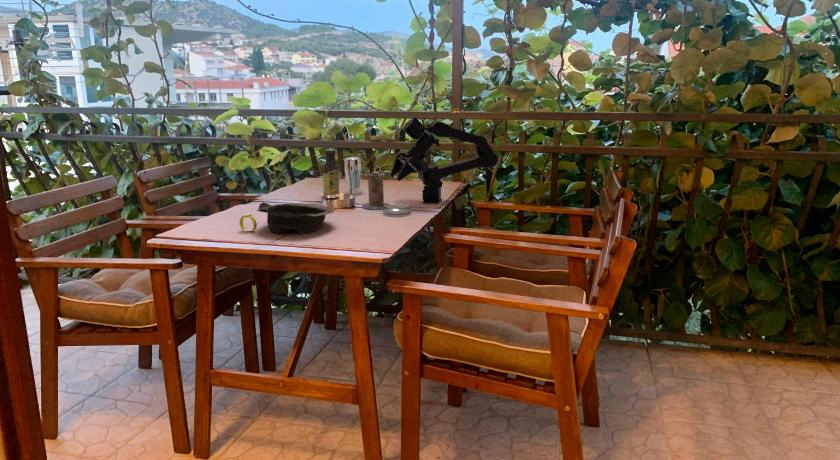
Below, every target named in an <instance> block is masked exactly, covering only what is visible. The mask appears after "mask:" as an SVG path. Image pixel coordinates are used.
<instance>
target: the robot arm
mask: <svg viewBox="0 0 840 460" xmlns="http://www.w3.org/2000/svg"><path fill="white" fill-rule="evenodd" d="M401 130H402V131H403V132H404V133H406V135H408V137H410V138H411V140H416V142H414V144H413V143H412V144H410V148H409V150H407V151H405V152H403V151H397V152H396V153H395V155H394V161H393V163H392V164H393V165H392V168H391V172H390V177H391V178H393V177H395V175H397V174H398V176H397V178H396V180H397V181H398V182H400V181H402V180H403V179H404V178H406V177H407V176H409V175H410V174H417V173H418V179H419V180H420V181H422V184H423V189H422V203H426V204H439V203H440V202H442V201H443V198H442V187H443V185H444V182H443V181H442V179H444V178H445V177H448V176H452V175H455V174H459V173H462V172H466V171H467V172H468V171H469V170H473V169H476V168H477V169H479V168H481V169H486V168H494V167H496V165H497V164H498V163H499V157H498V155H497V154H496V153H495V152H494V150H493V148H492V147H491V146H490V143H488V141H487V139H486V137H485V136H483V135H480V134H476V133H475V134H474V133H470V132H467V131H465V130H461V129H457V128H454V127H452V126H451V125H449V124H447V123H446V122H443V121H440V120H439V121H438V120H432V121H431V122H429V124H424V125H423V123H422V122H420V121H419V119H418V117H416V116H413V117H412V118H411V119H409V120H408V121H406V122H405V123H404V125H403V126H402V128H401ZM428 133H429V134H428ZM435 137H438V138H435ZM439 138H453V139H456V140H459V141H463V142H467V143H471V144H473V145H474V146H475V149H476V153H477V154H475V155H474V156H473V157H471V158H470V157H469V158H467V159H463V160H460V161H456V162H451V163H448V164H445V165H441V166H439V165H437V163H430V164H429V165H428V163H427V161H426V160H425V159H426V157H427V153H428V152H429V150H430V149H431V148H432V147H433V146H436V147H440V139H439Z"/></svg>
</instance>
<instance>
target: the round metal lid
mask: <svg viewBox="0 0 840 460" xmlns="http://www.w3.org/2000/svg"><path fill="white" fill-rule="evenodd" d="M382 214H383V215H384V216H386V217H391V218H400V217H401V218H403V217H407V216H410V215H411V206H409V205H406V204H390V206H385V207H384V208H383V210H382Z"/></svg>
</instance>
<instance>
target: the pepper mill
mask: <svg viewBox="0 0 840 460" xmlns="http://www.w3.org/2000/svg"><path fill="white" fill-rule="evenodd" d="M367 185H368V187H367V188H368V203H369V205H370V206H371V207H379V206H384V203H385V201H384V200H385V199H384V175H383V174H382V173H381V172H379V171H377V170H376V171H372V172H371V173H367Z"/></svg>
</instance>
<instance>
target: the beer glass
mask: <svg viewBox="0 0 840 460" xmlns="http://www.w3.org/2000/svg"><path fill="white" fill-rule="evenodd" d="M344 174H345V178H346V185H347V186H346V187H347V189H346V194H347V193H348V194H347V195H349V194H353V195H352V196H355V195H360V194H362V189H361V178H362V162H361V157H357V156H351V157H345V158H344Z"/></svg>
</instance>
